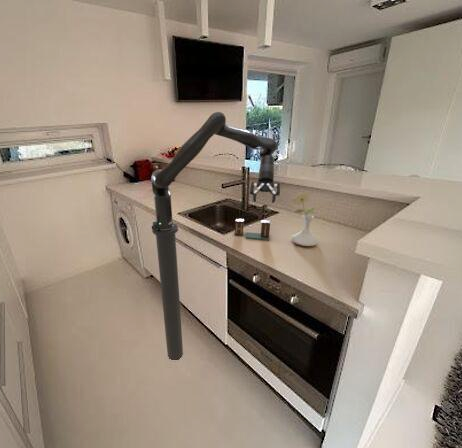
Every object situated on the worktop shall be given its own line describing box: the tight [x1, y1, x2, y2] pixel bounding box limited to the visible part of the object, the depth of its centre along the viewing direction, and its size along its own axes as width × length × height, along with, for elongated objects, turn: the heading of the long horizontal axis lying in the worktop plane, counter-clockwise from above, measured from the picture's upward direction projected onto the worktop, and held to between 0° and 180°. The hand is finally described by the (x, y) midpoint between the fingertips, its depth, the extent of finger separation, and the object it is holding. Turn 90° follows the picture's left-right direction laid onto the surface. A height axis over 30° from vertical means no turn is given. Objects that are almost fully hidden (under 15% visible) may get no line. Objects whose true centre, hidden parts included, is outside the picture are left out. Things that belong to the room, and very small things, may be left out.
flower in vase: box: [291, 191, 319, 247], centre depth 112 cm, size 13×11×25 cm
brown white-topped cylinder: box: [260, 219, 271, 239], centre depth 122 cm, size 4×4×8 cm
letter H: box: [234, 218, 245, 237], centre depth 128 cm, size 4×4×8 cm
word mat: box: [245, 232, 270, 241], centre depth 125 cm, size 11×6×1 cm, turn 73°
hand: (263, 201), depth 121 cm, fingers open, 8 cm apart
